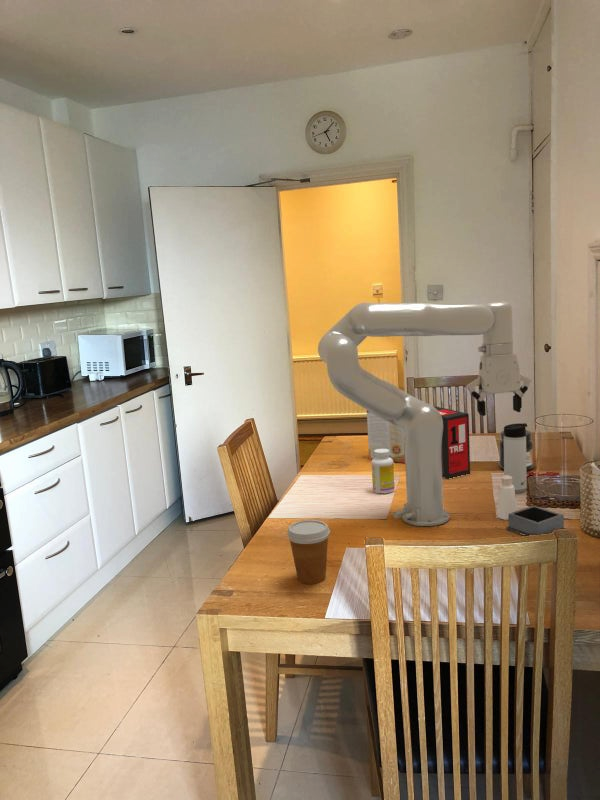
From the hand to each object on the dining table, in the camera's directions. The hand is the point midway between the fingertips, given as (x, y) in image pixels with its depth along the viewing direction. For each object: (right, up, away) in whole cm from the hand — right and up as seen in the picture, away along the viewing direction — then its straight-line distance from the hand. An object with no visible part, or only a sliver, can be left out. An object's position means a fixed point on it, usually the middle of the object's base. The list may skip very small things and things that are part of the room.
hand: (499, 413), depth 178 cm
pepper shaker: (+2, -28, -1) cm, 28 cm away
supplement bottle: (-28, -25, +27) cm, 46 cm away
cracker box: (-21, -18, +60) cm, 66 cm away
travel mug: (+10, -23, +19) cm, 32 cm away
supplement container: (+17, -19, +40) cm, 48 cm away
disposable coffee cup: (-51, -37, -29) cm, 69 cm away
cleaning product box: (-6, -20, +42) cm, 47 cm away
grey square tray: (+6, -29, -12) cm, 32 cm away
